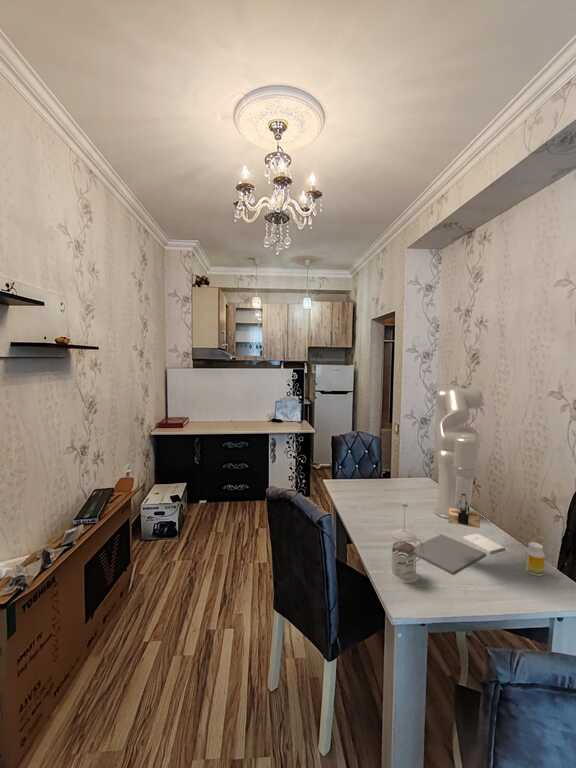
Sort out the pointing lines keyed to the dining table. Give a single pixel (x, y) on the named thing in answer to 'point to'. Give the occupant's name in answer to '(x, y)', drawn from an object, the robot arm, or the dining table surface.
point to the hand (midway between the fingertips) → (463, 519)
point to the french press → (401, 568)
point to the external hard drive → (484, 543)
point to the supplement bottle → (535, 559)
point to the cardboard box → (472, 518)
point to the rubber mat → (448, 553)
